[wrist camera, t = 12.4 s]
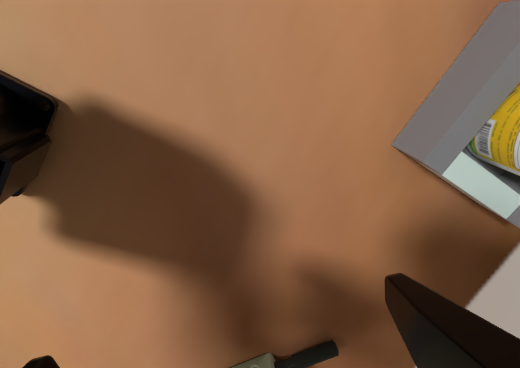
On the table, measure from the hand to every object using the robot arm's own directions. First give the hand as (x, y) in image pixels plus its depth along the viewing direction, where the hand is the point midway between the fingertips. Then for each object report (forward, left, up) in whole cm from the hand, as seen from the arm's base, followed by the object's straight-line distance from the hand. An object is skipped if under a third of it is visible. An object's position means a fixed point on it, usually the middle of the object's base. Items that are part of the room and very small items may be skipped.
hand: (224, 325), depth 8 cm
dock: (+15, +12, -13) cm, 23 cm away
